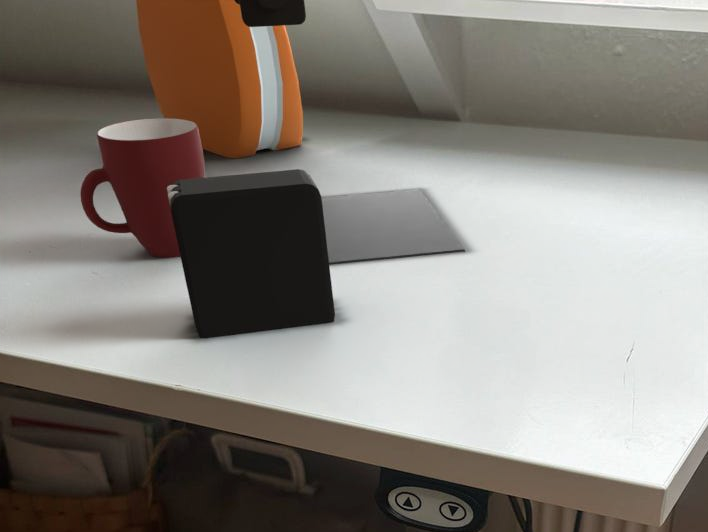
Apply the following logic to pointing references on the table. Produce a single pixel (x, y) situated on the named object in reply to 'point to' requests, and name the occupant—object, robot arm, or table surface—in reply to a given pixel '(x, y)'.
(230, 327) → the electronic device
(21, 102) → the table surface
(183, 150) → the mug
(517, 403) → the table surface
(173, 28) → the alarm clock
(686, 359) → the table surface
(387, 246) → the desk mat
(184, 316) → the table surface
